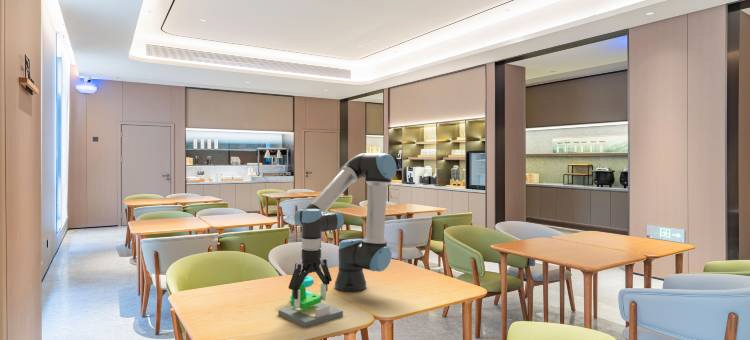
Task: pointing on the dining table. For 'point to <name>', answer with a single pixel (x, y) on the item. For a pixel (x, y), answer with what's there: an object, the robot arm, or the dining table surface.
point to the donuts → (307, 284)
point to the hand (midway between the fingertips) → (310, 303)
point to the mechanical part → (306, 298)
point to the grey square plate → (310, 314)
